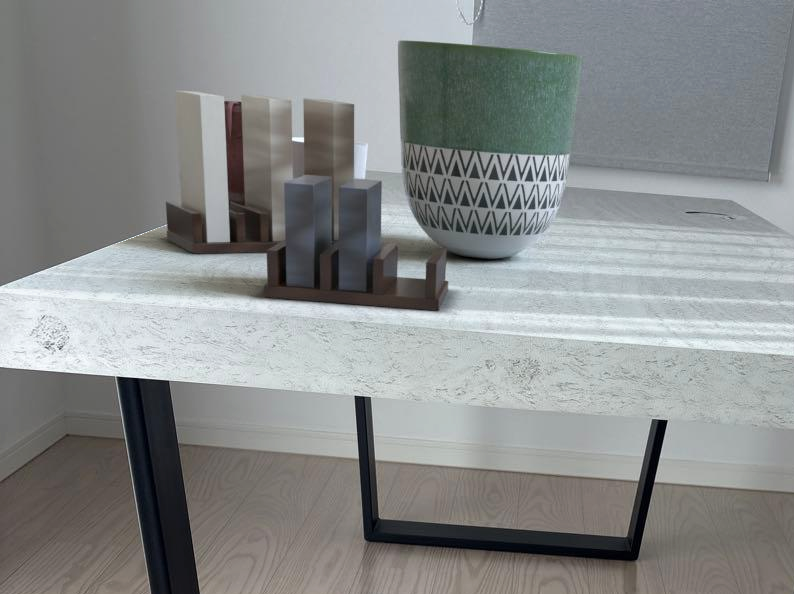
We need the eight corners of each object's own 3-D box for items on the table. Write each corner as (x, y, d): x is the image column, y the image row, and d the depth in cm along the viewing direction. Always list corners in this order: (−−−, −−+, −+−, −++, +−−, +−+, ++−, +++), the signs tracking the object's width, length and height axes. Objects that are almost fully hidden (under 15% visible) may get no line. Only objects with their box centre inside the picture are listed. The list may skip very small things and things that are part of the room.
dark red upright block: (213, 229, 123) (207, 99, 117) (243, 223, 129) (238, 99, 123) (260, 235, 122) (256, 104, 116) (287, 229, 127) (285, 104, 122)
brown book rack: (193, 253, 107) (184, 94, 101) (166, 239, 114) (157, 89, 108) (369, 249, 118) (370, 105, 112) (335, 237, 125) (334, 99, 119)
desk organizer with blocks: (264, 297, 91) (260, 181, 87) (288, 279, 99) (286, 172, 95) (438, 310, 91) (442, 196, 87) (448, 291, 99) (452, 185, 95)
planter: (566, 277, 111) (585, 54, 103) (381, 262, 111) (385, 37, 102) (564, 249, 129) (580, 57, 120) (405, 236, 129) (410, 43, 120)
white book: (207, 242, 108) (199, 94, 103) (182, 230, 114) (174, 90, 108) (230, 242, 109) (224, 96, 104) (204, 230, 115) (197, 91, 110)
